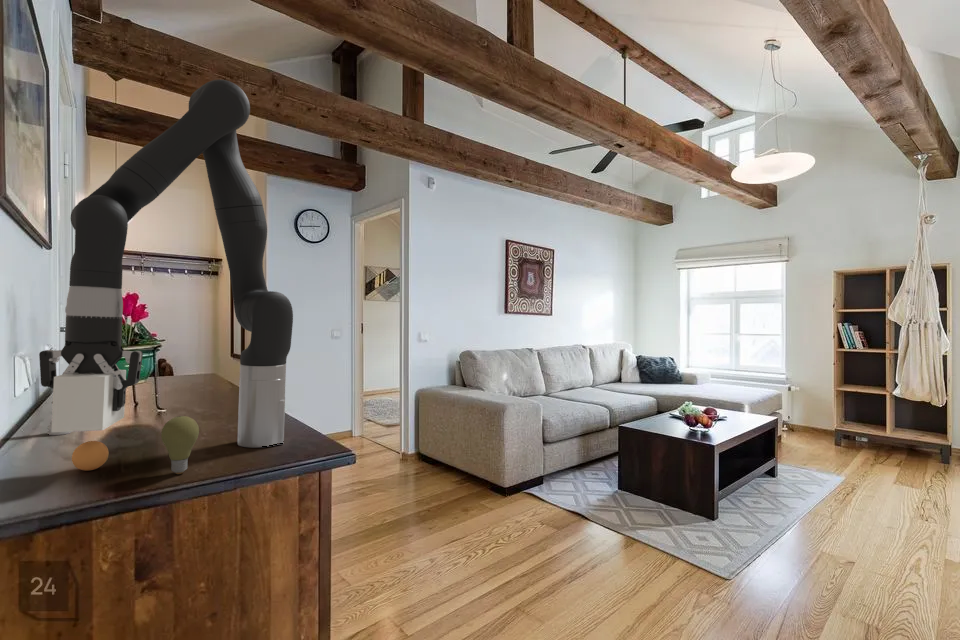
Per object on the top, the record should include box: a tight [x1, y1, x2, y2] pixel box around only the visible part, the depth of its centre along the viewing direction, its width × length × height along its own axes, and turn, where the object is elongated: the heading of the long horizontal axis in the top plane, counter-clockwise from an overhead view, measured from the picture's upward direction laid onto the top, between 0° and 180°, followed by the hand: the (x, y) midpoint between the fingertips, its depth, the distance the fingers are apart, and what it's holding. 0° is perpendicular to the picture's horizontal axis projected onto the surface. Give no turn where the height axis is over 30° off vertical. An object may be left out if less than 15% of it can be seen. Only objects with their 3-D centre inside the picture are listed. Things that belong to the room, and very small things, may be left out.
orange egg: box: [71, 440, 109, 472], centre depth 83 cm, size 5×5×5 cm
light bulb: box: [160, 415, 200, 475], centre depth 83 cm, size 6×6×10 cm
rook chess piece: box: [46, 400, 72, 436], centre depth 106 cm, size 4×4×8 cm
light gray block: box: [51, 369, 127, 433], centre depth 81 cm, size 7×11×9 cm, turn 22°
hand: (90, 410), depth 81 cm, fingers closed on light gray block, 6 cm apart
